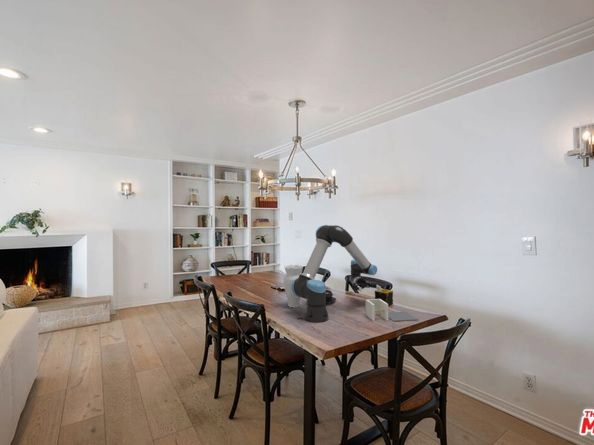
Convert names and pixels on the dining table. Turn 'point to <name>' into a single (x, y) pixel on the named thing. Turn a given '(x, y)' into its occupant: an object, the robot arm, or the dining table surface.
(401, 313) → the mat
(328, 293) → the casserole
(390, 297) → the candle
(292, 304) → the vase
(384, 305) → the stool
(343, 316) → the dining table surface
